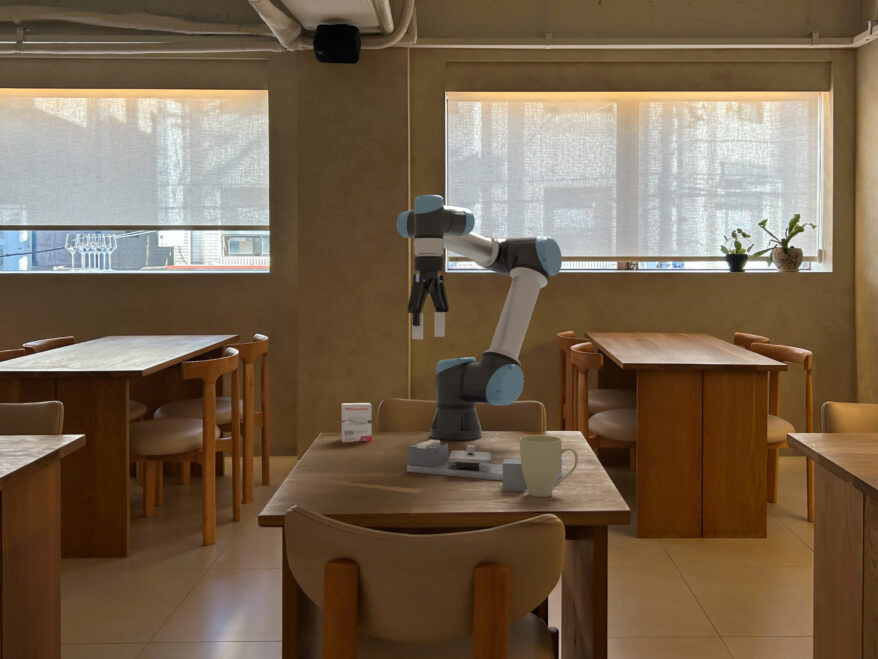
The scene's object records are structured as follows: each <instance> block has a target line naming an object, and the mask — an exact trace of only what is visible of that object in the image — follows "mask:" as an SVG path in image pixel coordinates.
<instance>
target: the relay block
mask: <svg viewBox="0 0 878 659" xmlns="http://www.w3.org/2000/svg"><path fill="white" fill-rule="evenodd" d="M502 465H503V480H502V487H501V489H502V491H505V492H506V491H509V492H510V491H511V492H515V491H516V492H526V490H527V486H526V482H525V479H524V476H523V472H522V467H521V459H515V458H514V459H512V458H510V459H508V458H504V459H503V460H502Z"/></svg>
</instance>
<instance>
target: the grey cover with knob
mask: <svg viewBox="0 0 878 659" xmlns="http://www.w3.org/2000/svg"><path fill="white" fill-rule="evenodd" d="M465 449H466V450H451V451H450V454H449V456H448V460H449V461H452V462H456V465H457V466H462V467H474V468H479V463H485V464H492V463H491V462H492V453H491V452H488V451H476V449H477V447H476V445H473V444H469V445H466V448H465Z"/></svg>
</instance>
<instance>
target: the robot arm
mask: <svg viewBox="0 0 878 659" xmlns="http://www.w3.org/2000/svg"><path fill="white" fill-rule="evenodd" d="M413 208H414V209H410V210H406V211H401V213H400V214H399V215H398V217H397V219H396V228H397V232H398V234H399V235H400V236H401V237H402V238H407V239H413V238H414V243H413V244H412V246H413V248H414V255H416V256H415V257H414V264H413V266H414V270H415V272H419V273H414V274H413V275H412V276H413V277H412V278H413V279H412V286H411V290H410V296H409V300H408V304H407V312H408V314H411V322H412V323H411V332H412V333H411V338H412V340H424V313H423V312H422V311H423V308H424V306H425V303H426V300H427V297H428V294H429V295H430V298H431V301H432V304H433V306H434V309H435V312H434V313H433V314H434V319H433V320H434V324H433V325H434V326H433V327H434V328H433V329H434V330H433V331H434V333H433V334H434V336H433V337H435V338H445V337H446V336H445V335H446V332H445V331H446V320H445V319H446V313H449V311H450V310H449V302H448V296H447V293H446V292H447V291H446V287H445V276H444V275H443V274H439V273H438V272H442V271H444V256H442V255H444V252H445V251H444V249H445V250H447V251H450V252H452V253H454V254H455V253H456V254H458V255H460V256H462V257H465V258H467V259H470V260H473V261H474V263H475V264H476V265H477V266H479V267H480V268H484V269H486V270H489V271H491V272H495V273H497V274H500V275H504V276H508V277H511V278H512V281H511V285H510V287H509V290H508V293H507V296H506V298H505V302H504V305H503V307H502V310H501V314H500V315H499V316H500V317H499V320H498V322H497V326H496V327H495V332H494V335H493V338H492V339H491V340H492V341H491V342H490V343H491V344H490V347H489V349H486V350H484V351H483V352H482V354H481V356H480V358H479V362H477V359H476V357H475V356H473V357H470V356H469V357H459V358H450V359H442V360H439V361H438V362H437V364H436V371H435V372H436V373H435V389H436V390H435V394H436V396H435V398H436V400H435V402H436V404H435V405H436V408H435V409H436V410H435V413H434V417H433V419H432V422H431V426H430V434H429V435H430V437H431V438H434V439H437V440H448V441H449V440H451V441H454V440H455V441H460V440H461V441H462V440H475V439H479V438H481V437H482V426H481V423H480V420H479V417H478V416H479V415H478V413H477V411H476V408H477V407H476V405H477V404H484V405H491V406H509V405H511V404H513V403H514V402H515V401H517V399H519V397H520V395H521V394H522V392H523V389H524V383H525V380H523V379H524V378H525V377H524V372H523V370H522V368H521V366H522V364H521V362H520V360H519V356H520V352H521V349H522V346H523V343H524V340H525V336H526V334H527V330H528V328H529V324H530V322H531V318H532V315H533V312H534V308H535V305H536V303H537V300H538V296H539V293H540V290H541V289H542V288H545V287H546V286H547V285H548V282H549V279H550V276H551V277H554V276H557V274H559V272H561V268H562V265H563V264H562V263H563V259H562V252H561V249H560V246H559V244H558V243H557V241H556V240H555V239H554V238H552V237H550V236H542V235H539V236H532V237H529V236H528V237H510V238H509V237H507V238H496V237H493V236H490V235H487V236H486V235H485V236H482V235H480V234H477V233H475V232H473V230H474V227H475V225H476V224H475V222H476V221H475V220H476V219H475V215H474V213H473V212H472V211H471V210H470V209H468V208H467V207H466V208H465V207H462V206H449V205H445V203H444V197H443V196H441V195H437V194H423V195H418V196H416V197H415V199H414V207H413Z"/></svg>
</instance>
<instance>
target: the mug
mask: <svg viewBox="0 0 878 659" xmlns="http://www.w3.org/2000/svg"><path fill="white" fill-rule="evenodd" d="M562 440H563V439H562V438H561V437H558V436H554V435H553V436H552V435H540V434H539V435H538V434H537V435H525V436H522V437H521V436H520V437H519V451H520V452H519V453H520V460H521V467H522V472H523V476H524V479H525V482H526V490H527V492H528V494H529V496H531V497H537V498H545V497H547V498H548V497H551V496H552V495H553V492H554V489H555V486H556V485H557V484H559V483H561V482H562V481H564V480H565V479H567V478H568V477H569V476H571V474H572V473H573V472H574V471H575V470H576V469H577V466H578V462H579V461H578V460H579V455H578V452H577V450H576V449H575V448H574V447H569V446H567V447H562V442H563V441H562ZM567 451H572V453H573V454H574V465H573V467H572V468H571V470H569V471H568V473H567V474H565V475H563V477H561V478H560V479H559V480H557V476H558V472H559V467H560V459H561V455H563V454H565V452H567Z"/></svg>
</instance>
